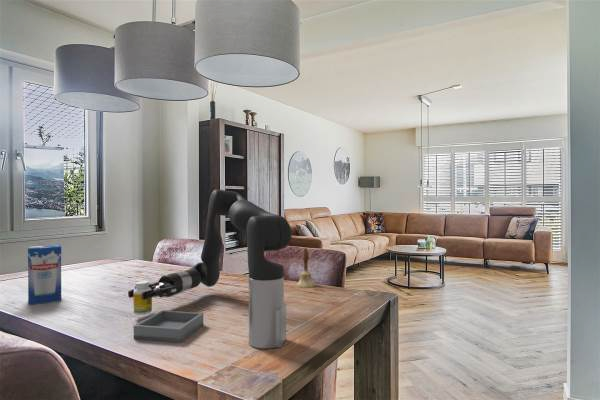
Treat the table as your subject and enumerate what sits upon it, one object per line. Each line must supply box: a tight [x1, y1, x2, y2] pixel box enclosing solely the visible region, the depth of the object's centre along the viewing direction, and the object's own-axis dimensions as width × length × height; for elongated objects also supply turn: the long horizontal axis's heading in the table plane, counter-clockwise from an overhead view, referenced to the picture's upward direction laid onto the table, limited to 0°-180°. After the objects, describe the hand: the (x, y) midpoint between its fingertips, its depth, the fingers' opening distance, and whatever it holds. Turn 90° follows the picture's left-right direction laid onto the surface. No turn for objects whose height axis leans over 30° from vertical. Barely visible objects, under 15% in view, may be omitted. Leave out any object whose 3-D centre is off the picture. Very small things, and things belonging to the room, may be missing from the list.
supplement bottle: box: [132, 280, 153, 316], centre depth 115 cm, size 5×5×10 cm
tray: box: [133, 310, 204, 343], centre depth 104 cm, size 14×14×4 cm
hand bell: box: [296, 248, 316, 288], centre depth 158 cm, size 8×8×16 cm
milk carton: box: [27, 244, 62, 306], centre depth 134 cm, size 10×6×20 cm, turn 123°
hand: (136, 295), depth 113 cm, fingers closed on supplement bottle, 5 cm apart
